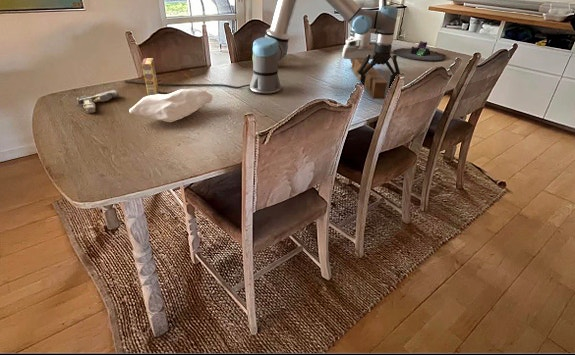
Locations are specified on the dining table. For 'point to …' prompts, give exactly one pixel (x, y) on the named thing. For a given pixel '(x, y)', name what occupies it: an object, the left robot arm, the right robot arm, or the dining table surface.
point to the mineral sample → (419, 53)
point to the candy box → (150, 76)
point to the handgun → (95, 100)
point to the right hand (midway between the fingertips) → (358, 66)
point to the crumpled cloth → (171, 104)
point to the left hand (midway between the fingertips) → (376, 88)
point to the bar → (371, 79)
